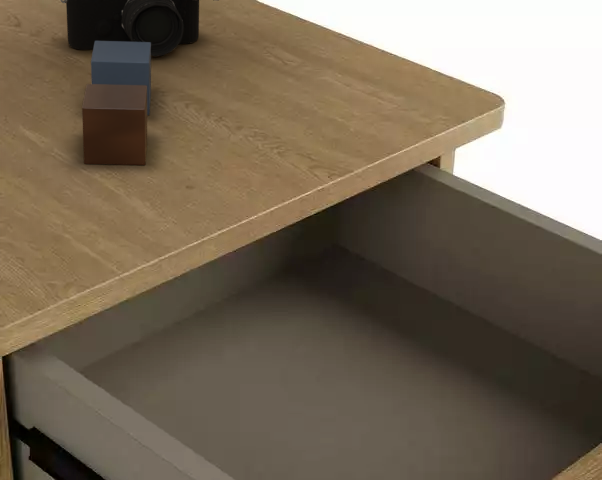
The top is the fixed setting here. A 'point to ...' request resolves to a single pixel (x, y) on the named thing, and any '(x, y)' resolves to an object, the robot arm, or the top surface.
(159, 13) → the camera
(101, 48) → the slate block
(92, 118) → the walnut block
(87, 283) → the top surface
